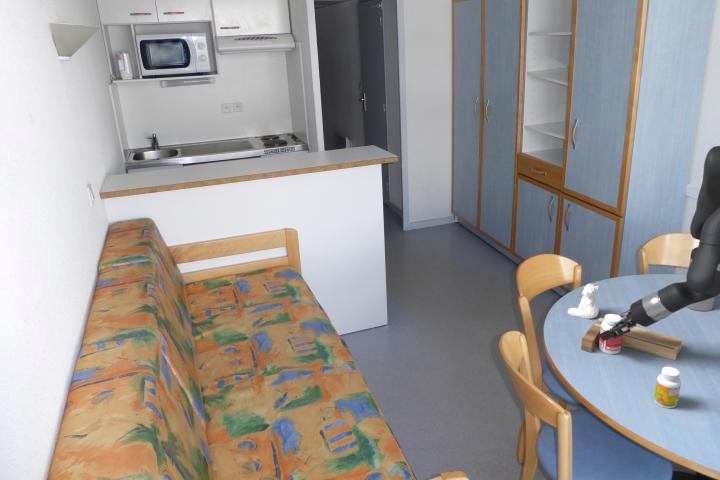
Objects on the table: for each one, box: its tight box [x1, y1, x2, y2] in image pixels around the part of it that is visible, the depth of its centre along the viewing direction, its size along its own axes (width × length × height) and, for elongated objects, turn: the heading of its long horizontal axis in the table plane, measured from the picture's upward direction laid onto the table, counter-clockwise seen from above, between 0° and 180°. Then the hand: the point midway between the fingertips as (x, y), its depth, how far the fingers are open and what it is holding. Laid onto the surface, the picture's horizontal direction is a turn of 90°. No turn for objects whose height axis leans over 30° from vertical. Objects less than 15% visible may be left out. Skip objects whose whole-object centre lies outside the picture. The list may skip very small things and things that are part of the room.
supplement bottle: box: [653, 366, 682, 409], centre depth 143 cm, size 5×5×10 cm
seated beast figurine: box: [567, 283, 600, 320], centre depth 186 cm, size 10×9×12 cm
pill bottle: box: [598, 313, 623, 355], centre depth 166 cm, size 6×6×11 cm
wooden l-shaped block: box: [580, 317, 683, 361], centre depth 167 cm, size 18×24×4 cm
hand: (605, 332), depth 167 cm, fingers open, 6 cm apart
